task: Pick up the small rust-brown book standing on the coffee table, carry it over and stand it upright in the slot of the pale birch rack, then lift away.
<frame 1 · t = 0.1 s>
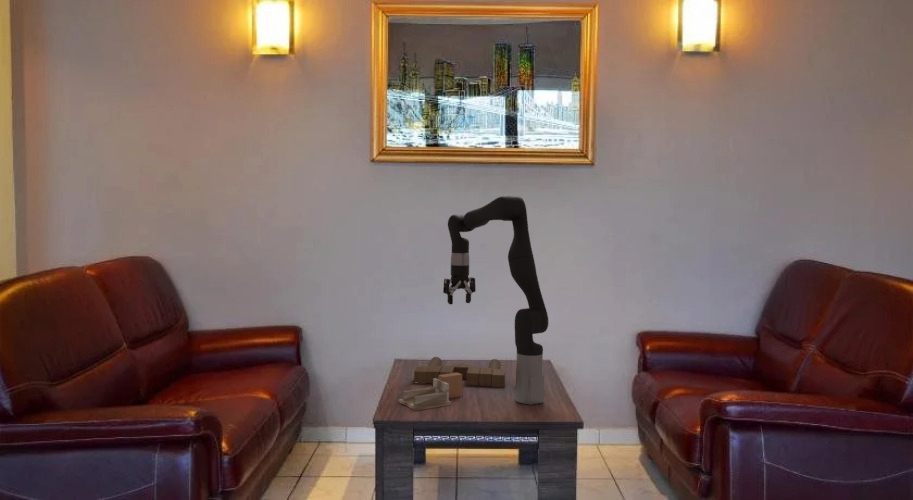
hand: (459, 303, 282), 29 cm above the table, tool pointing down, fingers open, 8 cm apart
rust book: (449, 396, 251), on the table
birch slot rack: (424, 403, 241), on the table
brown segmented blocky figure: (462, 377, 281), on the table
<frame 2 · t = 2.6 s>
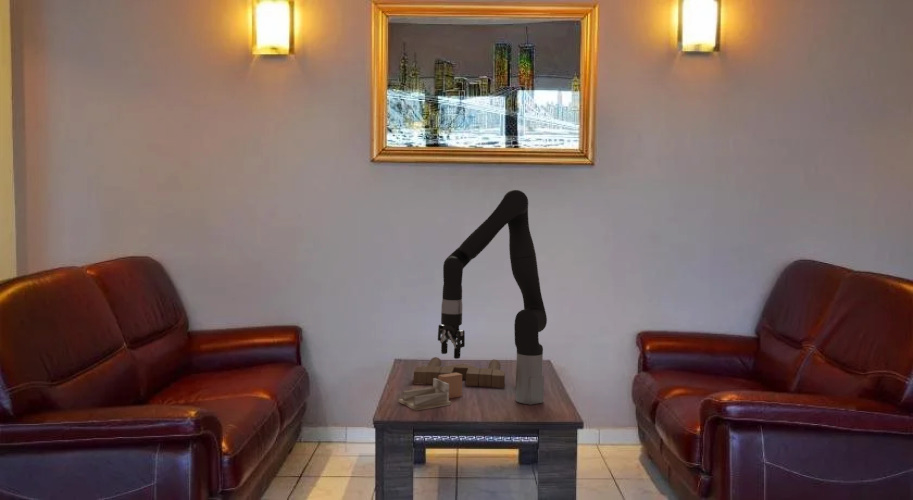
hand: (450, 355, 250), 15 cm above the table, tool pointing down, fingers open, 8 cm apart
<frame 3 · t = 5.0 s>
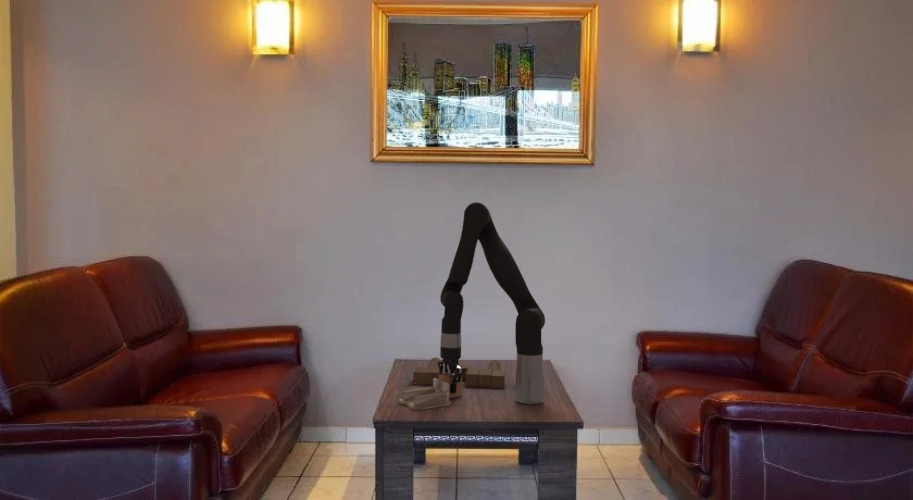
hand: (450, 391, 250), 2 cm above the table, tool pointing down, fingers closed on rust book, 3 cm apart
rust book: (450, 396, 251), on the table, touching gripper
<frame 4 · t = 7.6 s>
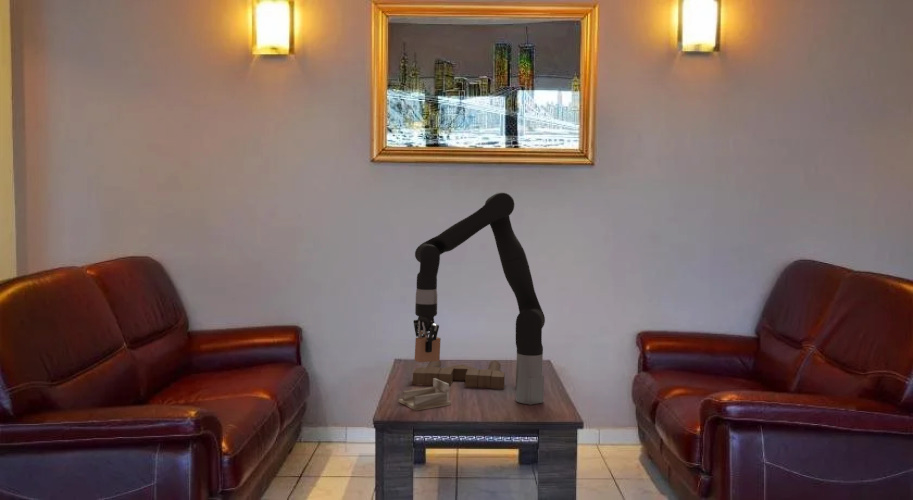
hand: (425, 350, 240), 18 cm above the table, tool pointing down, fingers closed on rust book, 3 cm apart
rust book: (427, 360, 241), point 15 cm above the table, touching gripper
when the fingers open (5 cm above the table, at t = 10.2 s): rust book stays where it is, resting on birch slot rack.
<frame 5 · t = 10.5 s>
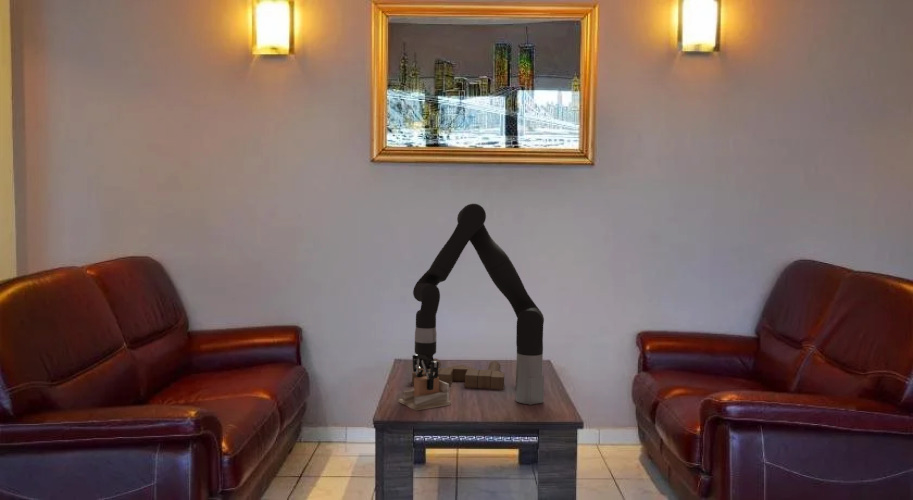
hand: (424, 387, 241), 6 cm above the table, tool pointing down, fingers open, 6 cm apart
rust book: (426, 400, 241), point 1 cm above the table, touching birch slot rack
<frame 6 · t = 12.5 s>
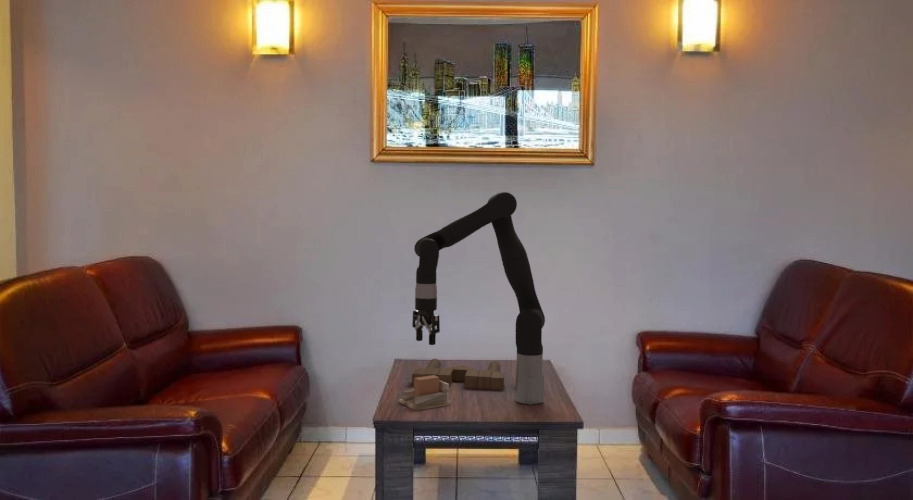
hand: (425, 342, 240), 21 cm above the table, tool pointing down, fingers open, 8 cm apart
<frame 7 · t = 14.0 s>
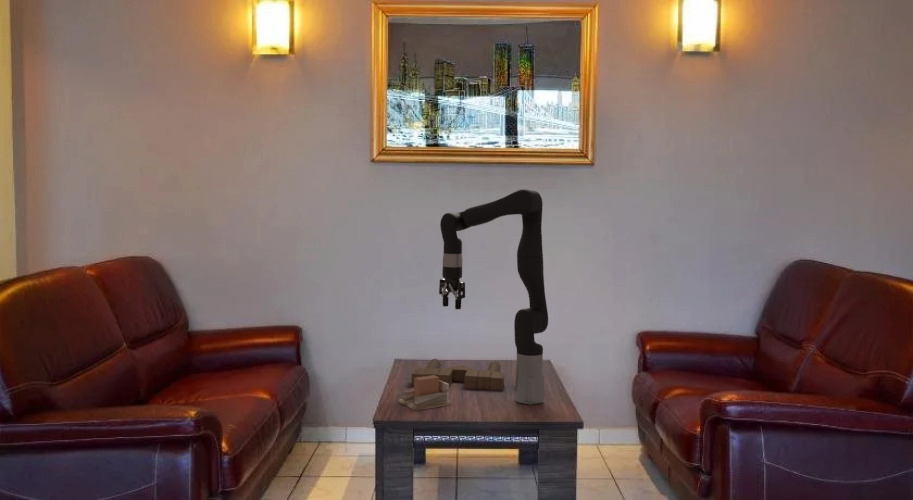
hand: (451, 307, 264), 30 cm above the table, tool pointing down, fingers open, 8 cm apart
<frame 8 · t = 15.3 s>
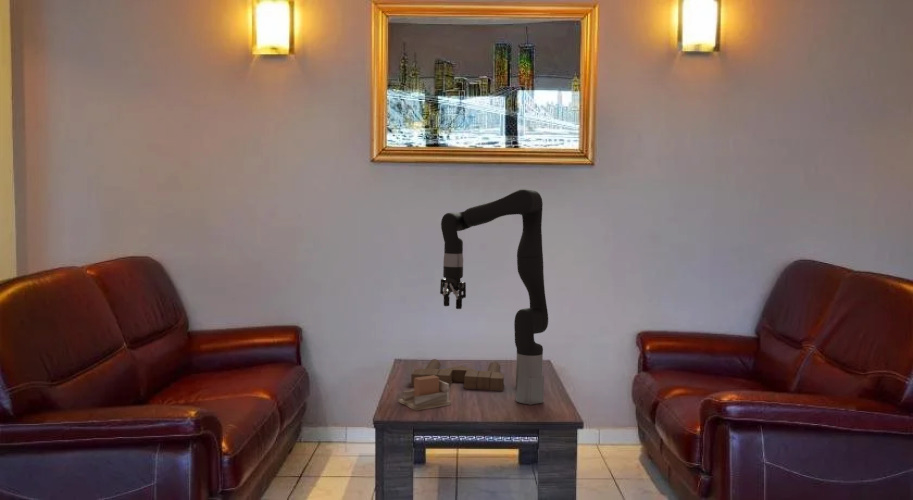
hand: (452, 307, 264), 30 cm above the table, tool pointing down, fingers open, 8 cm apart
at the end: rust book 0.7 cm off-centre on the birch slot rack, point 1.0 cm above the birch slot rack's base; rust book tilted 0°; the gripper is holding nothing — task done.
